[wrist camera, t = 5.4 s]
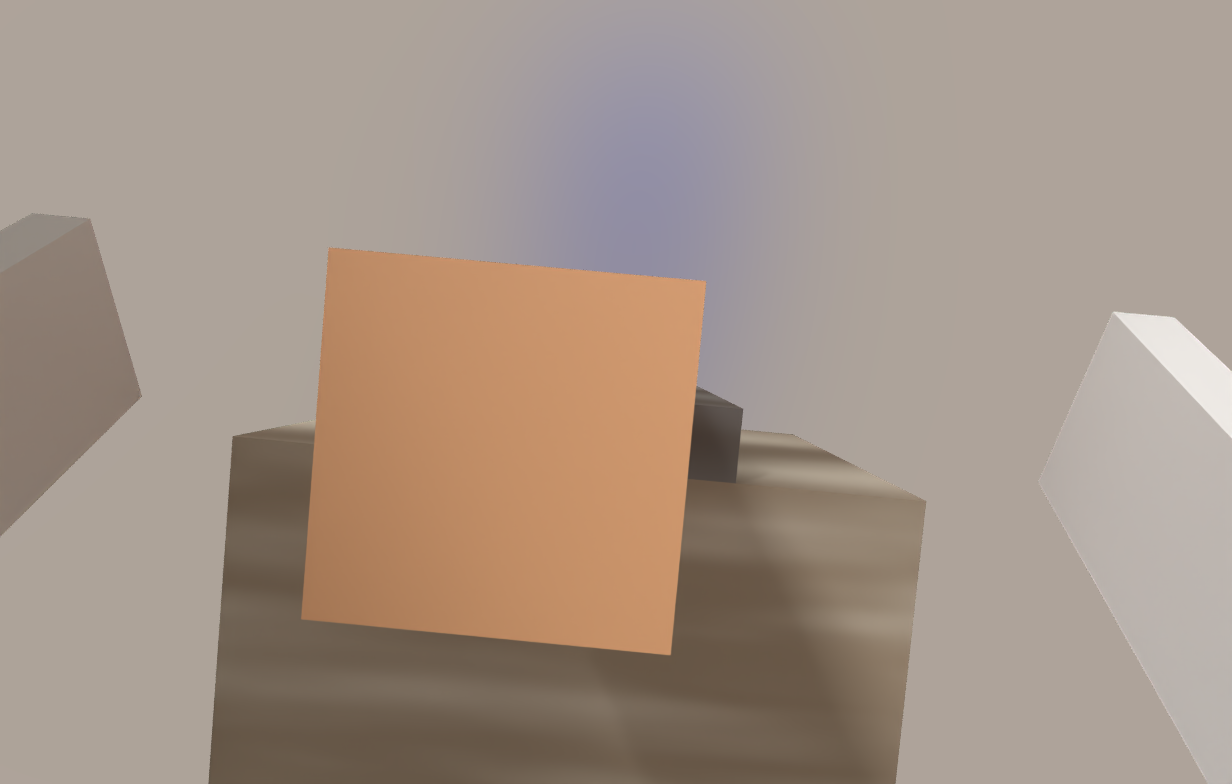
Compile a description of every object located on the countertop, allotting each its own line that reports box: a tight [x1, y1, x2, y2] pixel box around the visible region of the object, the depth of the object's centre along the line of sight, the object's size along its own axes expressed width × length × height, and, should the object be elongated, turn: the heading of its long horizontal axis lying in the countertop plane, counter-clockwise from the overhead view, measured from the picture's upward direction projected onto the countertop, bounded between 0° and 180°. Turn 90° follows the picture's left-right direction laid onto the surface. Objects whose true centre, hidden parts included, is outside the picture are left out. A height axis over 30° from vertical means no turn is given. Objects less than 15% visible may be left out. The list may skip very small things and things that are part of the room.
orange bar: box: [301, 248, 706, 655], centre depth 20 cm, size 26×3×3 cm, turn 179°
